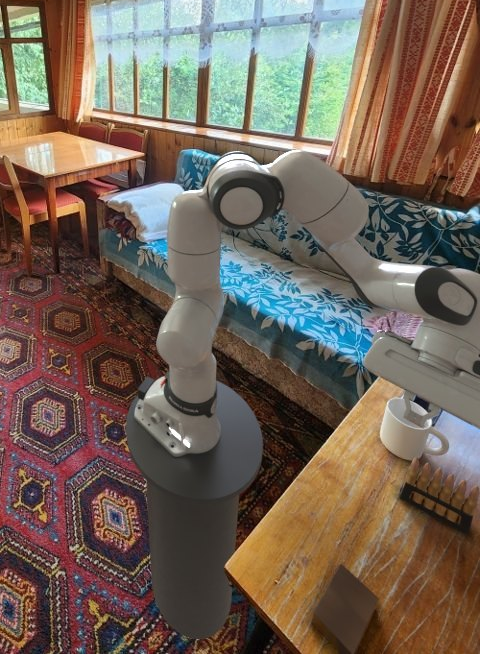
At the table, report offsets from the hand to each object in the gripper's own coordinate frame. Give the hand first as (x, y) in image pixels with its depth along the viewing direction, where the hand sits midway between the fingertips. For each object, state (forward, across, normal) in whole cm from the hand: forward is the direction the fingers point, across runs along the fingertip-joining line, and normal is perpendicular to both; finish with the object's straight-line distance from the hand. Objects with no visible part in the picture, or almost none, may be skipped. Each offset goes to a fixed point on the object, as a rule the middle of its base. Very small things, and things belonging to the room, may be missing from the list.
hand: (413, 423), depth 66 cm
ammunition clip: (+13, +6, +24) cm, 28 cm away
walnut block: (+29, +1, +5) cm, 29 cm away
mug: (+5, -1, +32) cm, 32 cm away
